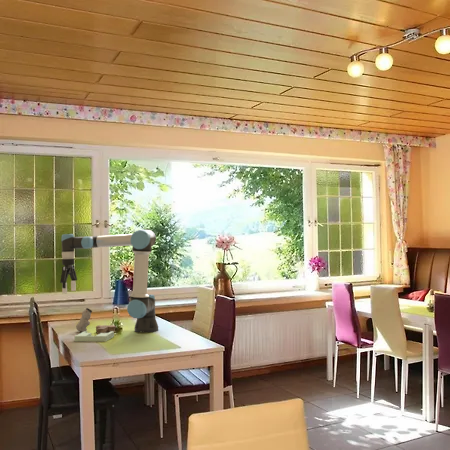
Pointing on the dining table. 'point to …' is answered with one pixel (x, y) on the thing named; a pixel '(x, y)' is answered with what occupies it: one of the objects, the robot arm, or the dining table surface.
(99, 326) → the t block
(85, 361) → the dining table surface
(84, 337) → the slot frame
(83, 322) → the figurine
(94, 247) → the robot arm
